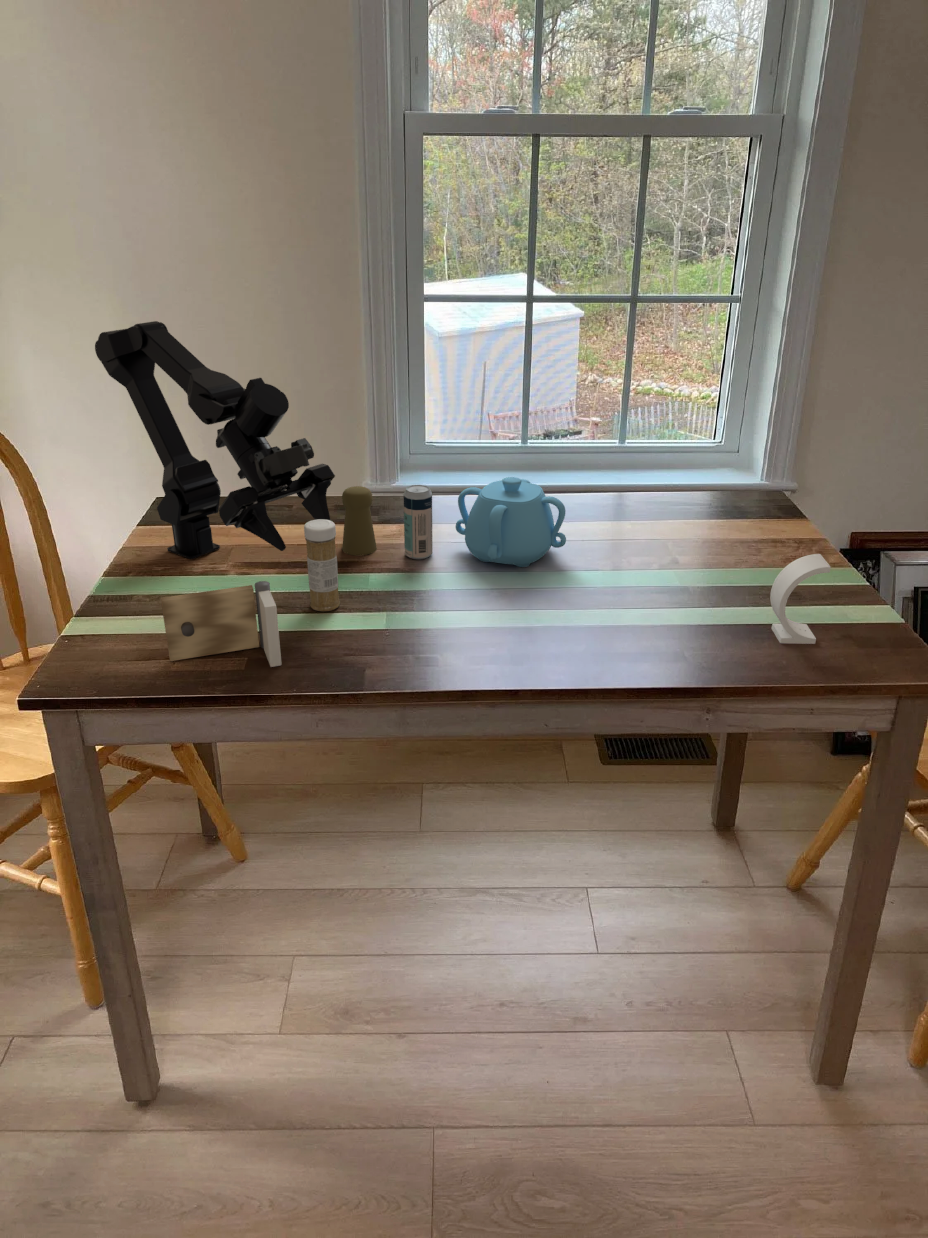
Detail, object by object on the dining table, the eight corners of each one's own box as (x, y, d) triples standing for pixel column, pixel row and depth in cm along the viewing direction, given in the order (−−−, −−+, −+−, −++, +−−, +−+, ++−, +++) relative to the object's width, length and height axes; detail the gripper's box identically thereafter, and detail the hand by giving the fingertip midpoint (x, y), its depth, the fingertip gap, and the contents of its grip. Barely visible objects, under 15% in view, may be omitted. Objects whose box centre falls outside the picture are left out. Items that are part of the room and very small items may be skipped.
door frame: (259, 643, 133) (253, 582, 129) (273, 641, 134) (268, 580, 129) (268, 667, 127) (262, 604, 123) (283, 664, 128) (277, 601, 123)
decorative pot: (572, 567, 158) (577, 490, 152) (482, 579, 153) (484, 499, 147) (534, 532, 172) (538, 460, 166) (450, 542, 167) (451, 468, 161)
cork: (374, 555, 161) (372, 494, 156) (339, 555, 161) (336, 494, 156) (378, 542, 167) (376, 482, 162) (344, 541, 167) (341, 482, 162)
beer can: (437, 552, 163) (437, 486, 157) (424, 562, 159) (424, 495, 153) (412, 548, 164) (411, 482, 159) (399, 557, 161) (398, 490, 155)
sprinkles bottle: (334, 597, 147) (329, 516, 140) (344, 609, 143) (339, 526, 137) (305, 602, 145) (299, 520, 139) (315, 615, 141) (309, 531, 135)
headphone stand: (815, 643, 135) (830, 567, 129) (772, 643, 135) (786, 566, 129) (805, 628, 139) (820, 553, 133) (764, 628, 139) (777, 553, 133)
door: (257, 643, 133) (251, 585, 128) (260, 650, 131) (254, 592, 126) (169, 657, 129) (160, 597, 125) (171, 665, 127) (161, 605, 123)
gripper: (222, 437, 130) (281, 531, 129) (322, 411, 143) (377, 496, 142) (194, 480, 138) (250, 569, 137) (292, 452, 151) (344, 533, 150)
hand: (307, 540), depth 141 cm, fingers open, 9 cm apart
